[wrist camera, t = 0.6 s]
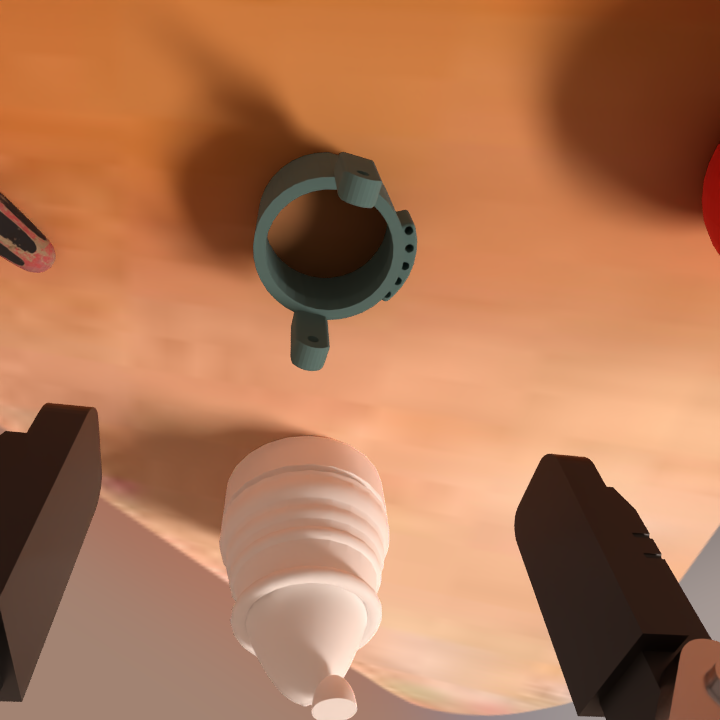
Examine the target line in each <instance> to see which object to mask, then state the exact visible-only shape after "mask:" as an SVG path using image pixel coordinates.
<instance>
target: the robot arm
mask: <svg viewBox="0 0 720 720" xmlns="http://www.w3.org/2000/svg"><path fill="white" fill-rule="evenodd" d="M101 480H102V468H101V453H100V438H99V422H98V413H97V410H96V409H95V408H94V407H84V406H74V405H63V404H53V403H46V404H45V405H44V406H43V407H42V408H41V410H40V411H39V413H38V415H37V416H36V418H35V420H34V421H33V423H32V425H31V427H30V428H29V430H28V432H27V433H21V432H10V431H5V432H4V433H2V434H1V435H0V701H13V702H15V701H16V702H22V700H23V698H24V695H25V692H26V690H27V687H28V685H29V682H30V680H31V677H32V674H33V672H34V669H35V666H36V664H37V661H38V659H39V656H40V653H41V651H42V648H43V646H44V643H45V640H46V638H47V635H48V633H49V630H50V627H51V625H52V622H53V619H54V617H55V614H56V612H57V609H58V606H59V604H60V601H61V599H62V596H63V593H64V591H65V588H66V586H67V583H68V580H69V578H70V575H71V573H72V570H73V567H74V564H75V562H76V559H77V557H78V554H79V552H80V549H81V546H82V544H83V541H84V539H85V536H86V533H87V531H88V528H89V526H90V523H91V520H92V518H93V515H94V512H95V510H96V507H97V503H98V499H99V495H100V489H101ZM514 527H515V537H516V541H517V544H518V547H519V550H520V553H521V556H522V558H523V561H524V564H525V567H526V570H527V573H528V576H529V578H530V581H531V584H532V587H533V590H534V593H535V595H536V598H537V601H538V604H539V607H540V610H541V612H542V615H543V618H544V621H545V624H546V627H547V629H548V632H549V635H550V638H551V641H552V644H553V647H554V649H555V652H556V655H557V658H558V661H559V664H560V666H561V669H562V672H563V675H564V678H565V681H566V683H567V686H568V689H569V692H570V695H571V698H572V701H573V703H574V706H575V709H576V712H577V715H578V716H596V717H605V718H606V720H720V642H718V641H714V640H712V639H711V637H710V636H709V635H708V633H707V631H706V629H705V628H704V626H703V624H702V623H701V621H700V619H699V617H698V616H697V614H696V612H695V610H694V609H693V607H692V605H691V604H690V602H689V600H688V599H687V597H686V595H685V593H684V592H683V590H682V588H681V587H680V585H679V583H678V581H677V580H676V578H675V576H674V575H673V573H672V571H671V569H670V568H669V566H668V564H667V563H666V561H665V559H661V552H660V551H659V549H658V547H657V546H656V544H655V542H654V540H653V539H650V538H649V532H648V530H647V528H646V527H645V525H644V523H643V522H642V520H641V518H640V517H639V515H638V513H637V511H636V510H635V509H634V508H633V507H632V506H631V505H630V504H629V503H628V502H627V501H626V500H625V499H624V498H623V497H622V496H621V495H620V494H619V493H618V492H617V491H616V490H615V489H614V488H613V487H606V485H605V483H604V482H603V480H602V478H601V476H600V474H599V473H598V471H597V469H596V467H595V465H594V464H593V462H592V461H591V460H590V459H588V458H586V457H578V456H568V455H557V454H547V455H545V456H544V457H543V458H542V459H541V461H540V463H539V465H538V467H537V469H536V471H535V473H534V475H533V477H532V479H531V481H530V483H529V485H528V487H527V489H526V491H525V493H524V495H523V498H522V500H521V502H520V504H519V506H518V508H517V511H516V515H515V525H514Z"/></svg>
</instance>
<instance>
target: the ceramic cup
mask: <svg viewBox="0 0 720 720" xmlns="http://www.w3.org/2000/svg"><path fill="white" fill-rule="evenodd" d="M702 207H703V217H704V222H705V226H706V228H707V231H708V234H709V236H710V239H711V241H712V244H713V246H714V247H715V249H716V251H717V252H718V253H719V255H720V143H719V144H718V146H717V147H716V149H715V151H714V154H713V156H712V158H711V160H710V162H709V164H708V168H707V171H706V175H705V178H704V184H703V193H702Z"/></svg>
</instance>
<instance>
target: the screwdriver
mask: <svg viewBox="0 0 720 720" xmlns="http://www.w3.org/2000/svg"><path fill="white" fill-rule="evenodd" d="M0 256H1V257H3V258H4V259H6V260H8V261H9V262H11V263H13V264H14V265H16V266H18V267H20V268H22V269H24V270H26V271H29V272H35V273H40V272H44V271H46V270H47V269H49V268H50V267H51V266H52V265H53V263H54V261H55V257H56V255H55V251H54V248H53V246H52V244H51V243H50V241H49V240H48V239H47V238H46V237H45V236H44V235H43V234H42V233H41V232H40V231H39V230H38V229H37V228H36V227H35V226H34V225H33V224H32V223H31V222H30V221H29V220H28V219H27V218H26V217H25V216H24V215H23V214H22V213H21V212H20V211H19V210H18V209H17V208H16V207H15V206H14V205H13V204H12V203H11V202H10V201H9V200H8V199H7V198H6V197H5V196H3V195H2V194H1V193H0Z"/></svg>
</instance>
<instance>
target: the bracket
mask: <svg viewBox="0 0 720 720" xmlns="http://www.w3.org/2000/svg"><path fill="white" fill-rule="evenodd" d="M325 189H330V190H337V192H338V196H339V197H340V199H341V200H343V201H345V202H347V203H349V204H352V205H355V206H359V207H364V208H372V207H374V206H375V208H376V209H377V210H378V211H379V212H380V213H381V214H382V215H383V217H384V219H385V220H386V222H387V228H386V233H385V236H384V239H383V242H382V244H381V245H380V247H379V249H378V251H377V252H376V253H375V255H374V256H373V257H372V258H371V259H370V260H369V261H368V262H367V263H366V264H365V265H363V266H362V267H361V268H359V269H357V270H355V271H354V272H351V273H349V274H346V275H343V276H339V277H334V278H318V277H312V276H308V275H305V274H302V273H300V272H298V271H296V270H294V269H292V268H290V267H289V266H288V265H287V264H285V263H284V262H283V261H282V260H281V259H280V258H279V257H278V256H277V255H276V253H275V252H274V250H273V249H272V247H271V245H270V244H269V241H268V239H267V235H268V231H269V229H270V227H271V225H272V222H273V220H274V219H275V218H276V216H277V215H278V214H279V212H280V211H281V210H282V209H283V208H284V207H285V206H286V205H287V204H289V203H290V202H291V201H293V200H295V199H296V198H298V197H300V196H302V195H304V194H307V193H310V192H313V191H318V190H325ZM416 250H417V236H416V228H415V225H414V223H413V220H412V218H411V216H410V214H409V212H408V211H407V210H402V211H398V212H396V211H395V209H394V207H393V204H392V202H391V200H390V197H389V195H388V193H387V191H386V188H385V186H384V185H383V183H382V181H381V178H380V176H379V174H378V171H377V169H376V166H375V164H374V162H373V161H372V160H369V159H366V158H362V157H359V156H355V155H352V154H349V153H345V152H341V153H340V154H339V155H336V154H332V153H329V152H326V153H314V154H309V155H305V156H302V157H300V158H298V159H295V160H293V161H291V162H290V163H288V164H287V165H285V166H284V167H282V168H281V169H280V170H279V171H278V172H277V173H276V174H275V175H274V176H273V177H272V179H271V180H270V182H269V183H268V185H267V186H266V188H265V191H264V193H263V195H262V198H261V202H260V206H259V211H258V217H257V224H256V230H255V236H254V244H253V253H254V261H255V266H256V270H257V272H258V275H259V277H260V279H261V281H262V283H263V284H264V286H265V288H266V289H267V291H268V292H269V293H270V294H271V295H272V296H273V297H274V298H275V299H276V300H277V301H278V302H279V303H281V304H282V305H283V306H284V307H286V308H288V309H290V310H291V311H293V312H294V316H293V320H292V325H291V361H292V363H293V364H294V365H295V366H297V367H299V368H301V369H304V370H308V371H317V370H320V369H321V368H322V367H323V365H324V363H325V360H326V357H327V354H328V351H329V348H330V345H329V334H328V323H327V320H333V319H342V318H347V317H351V316H354V315H357V314H359V313H362V312H364V311H366V310H368V309H369V308H371V307H373V306H374V305H375V304H377V303H378V302H379V301H380V300H383V301H388V300H389V299H390V298H391V297H393V296H394V295H395V294H396V292H397V291H398V290H399V289H400V288H401V287H402V286H403V284H404V282H405V281H406V279H407V278H408V276H409V274H410V272H411V269H412V267H413V264H414V260H415V256H416Z"/></svg>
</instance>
